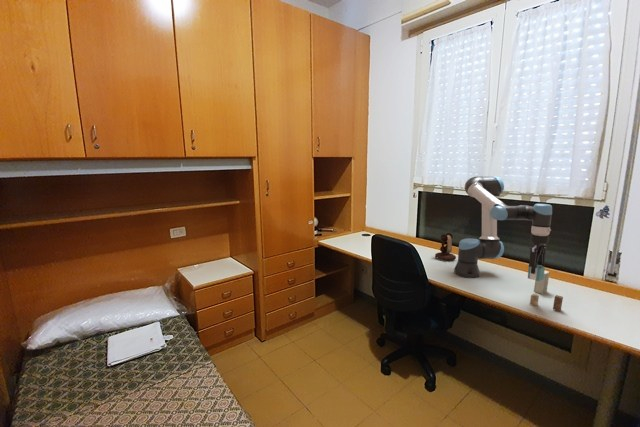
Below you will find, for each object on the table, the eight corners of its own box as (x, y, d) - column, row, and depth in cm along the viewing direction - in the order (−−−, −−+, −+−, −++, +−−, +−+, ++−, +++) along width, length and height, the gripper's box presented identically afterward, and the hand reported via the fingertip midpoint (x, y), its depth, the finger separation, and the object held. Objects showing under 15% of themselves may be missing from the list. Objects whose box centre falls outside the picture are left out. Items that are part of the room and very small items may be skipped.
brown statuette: (449, 263, 215) (451, 237, 211) (431, 258, 226) (432, 233, 223) (459, 259, 223) (461, 234, 220) (441, 254, 235) (443, 230, 232)
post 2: (552, 309, 147) (554, 296, 146) (554, 307, 148) (556, 295, 147) (559, 311, 145) (561, 298, 144) (561, 309, 146) (563, 296, 145)
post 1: (529, 304, 152) (531, 295, 152) (531, 302, 154) (533, 293, 153) (535, 306, 150) (536, 296, 150) (537, 304, 152) (538, 295, 151)
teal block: (527, 278, 152) (528, 266, 151) (532, 276, 155) (533, 264, 154) (539, 281, 148) (540, 268, 147) (543, 279, 150) (544, 266, 150)
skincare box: (538, 288, 171) (540, 269, 169) (547, 291, 167) (550, 271, 165) (533, 291, 167) (536, 271, 165) (542, 294, 164) (545, 273, 162)
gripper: (541, 238, 140) (536, 284, 143) (556, 233, 150) (551, 276, 153) (523, 235, 146) (519, 279, 149) (539, 231, 156) (534, 272, 159)
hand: (535, 278), depth 151 cm, fingers closed on teal block, 5 cm apart
